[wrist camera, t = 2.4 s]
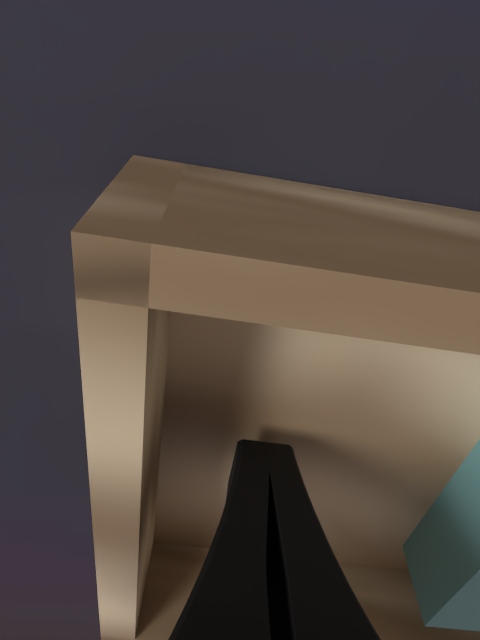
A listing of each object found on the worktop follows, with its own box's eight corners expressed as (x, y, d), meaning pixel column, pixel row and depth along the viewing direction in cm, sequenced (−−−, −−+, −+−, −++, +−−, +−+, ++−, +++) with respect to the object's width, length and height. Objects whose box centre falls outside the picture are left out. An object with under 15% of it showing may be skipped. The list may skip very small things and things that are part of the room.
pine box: (497, 576, 17) (544, 688, 15) (128, 537, 16) (101, 649, 14) (819, 267, 9) (1068, 381, 6) (133, 155, 8) (70, 231, 6)
